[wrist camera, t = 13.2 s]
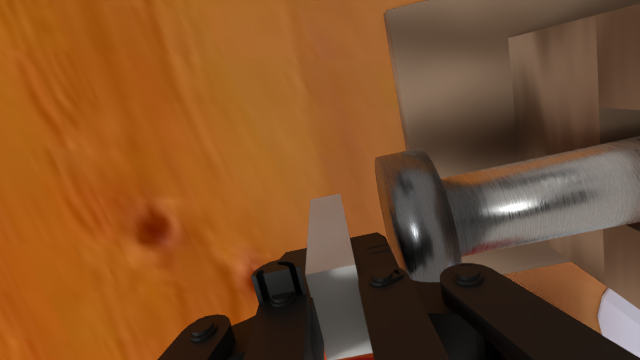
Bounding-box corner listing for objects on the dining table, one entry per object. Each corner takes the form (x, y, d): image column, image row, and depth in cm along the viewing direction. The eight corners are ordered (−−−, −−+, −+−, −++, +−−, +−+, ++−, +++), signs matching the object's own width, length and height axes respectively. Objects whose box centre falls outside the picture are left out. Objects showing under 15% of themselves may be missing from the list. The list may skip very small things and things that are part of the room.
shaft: (369, 146, 16) (392, 177, 10) (808, 49, 15) (1093, 27, 9) (391, 260, 17) (422, 340, 12) (794, 180, 16) (1036, 227, 11)
